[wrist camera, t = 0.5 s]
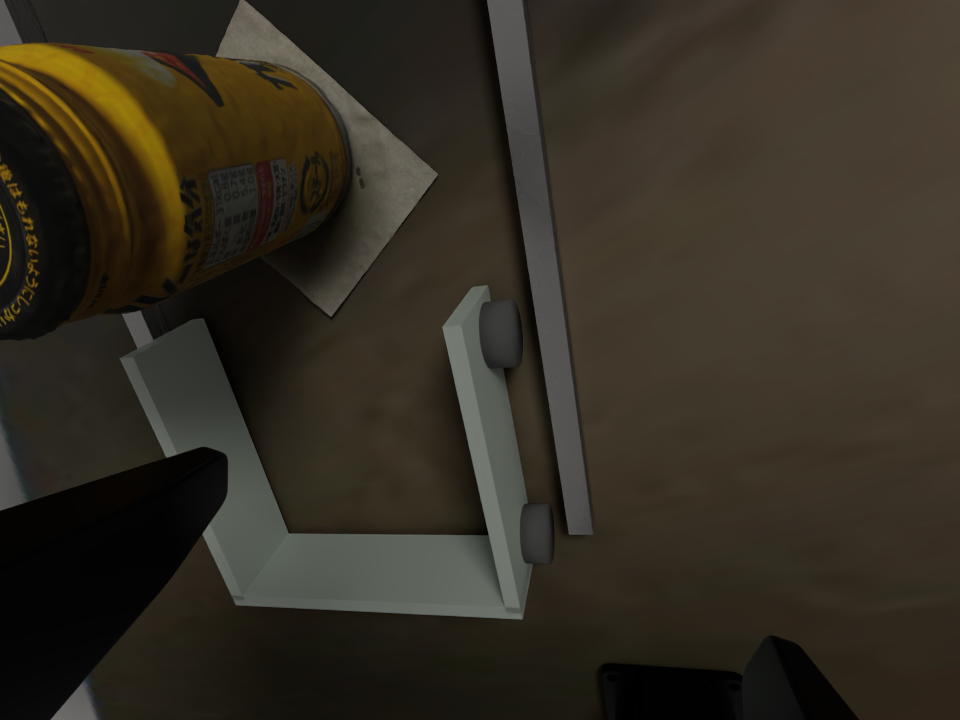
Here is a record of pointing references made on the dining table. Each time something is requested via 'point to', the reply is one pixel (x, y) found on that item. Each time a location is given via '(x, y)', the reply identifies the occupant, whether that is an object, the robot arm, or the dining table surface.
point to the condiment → (185, 175)
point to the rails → (11, 20)
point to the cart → (360, 557)
